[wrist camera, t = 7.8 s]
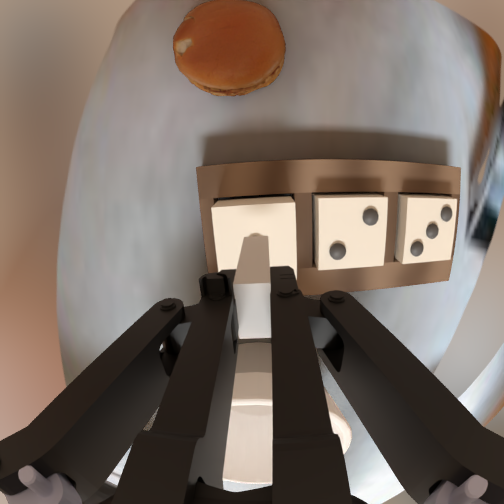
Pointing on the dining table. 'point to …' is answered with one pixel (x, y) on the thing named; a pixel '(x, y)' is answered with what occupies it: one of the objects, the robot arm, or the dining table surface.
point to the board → (333, 180)
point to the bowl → (260, 418)
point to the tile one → (255, 229)
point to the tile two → (348, 229)
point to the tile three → (424, 227)
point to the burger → (229, 47)
